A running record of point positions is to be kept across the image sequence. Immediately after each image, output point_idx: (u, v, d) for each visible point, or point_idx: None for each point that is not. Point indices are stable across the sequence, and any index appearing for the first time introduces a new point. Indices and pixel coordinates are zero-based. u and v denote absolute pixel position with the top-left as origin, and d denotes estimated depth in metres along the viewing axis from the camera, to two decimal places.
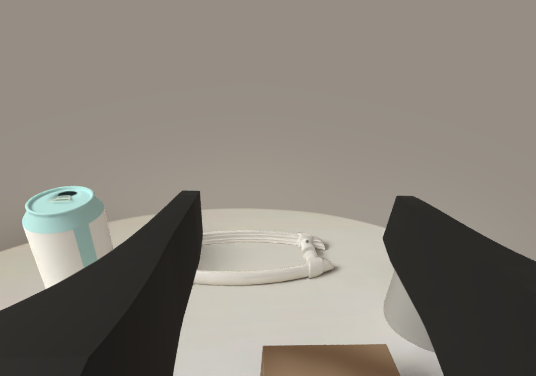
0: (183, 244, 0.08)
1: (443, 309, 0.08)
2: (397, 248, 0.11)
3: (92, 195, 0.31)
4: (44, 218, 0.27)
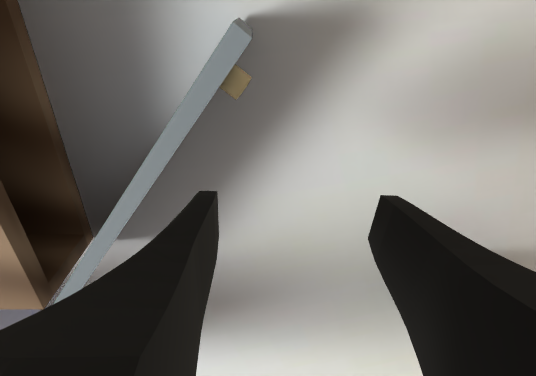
0: (204, 244, 0.08)
1: (423, 309, 0.08)
2: (381, 248, 0.11)
3: None
4: None
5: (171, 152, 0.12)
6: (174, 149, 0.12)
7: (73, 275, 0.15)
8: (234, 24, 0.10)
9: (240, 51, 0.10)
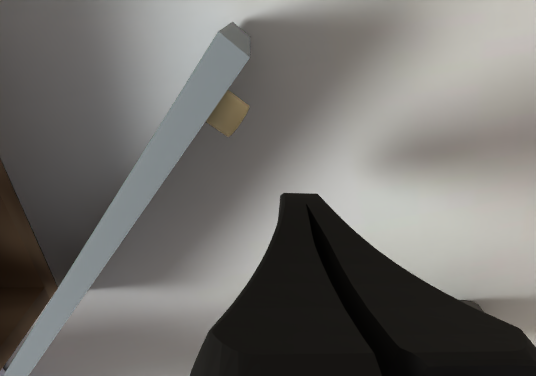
0: None
1: None
2: None
3: None
4: None
5: (133, 219, 0.08)
6: (137, 214, 0.08)
7: (13, 364, 0.12)
8: (221, 35, 0.06)
9: (231, 77, 0.07)
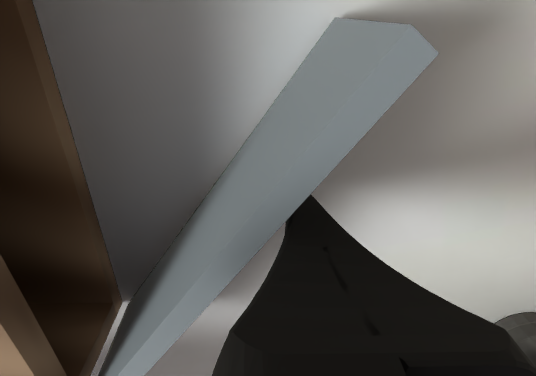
0: None
1: None
2: None
3: None
4: None
5: (266, 237, 0.08)
6: (271, 232, 0.08)
7: None
8: (412, 29, 0.05)
9: (412, 77, 0.06)
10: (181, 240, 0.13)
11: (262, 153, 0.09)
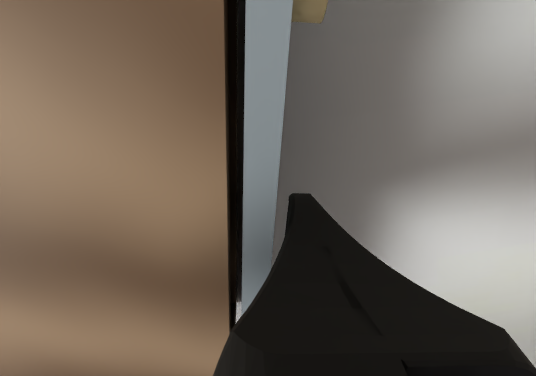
0: None
1: None
2: None
3: None
4: None
5: (274, 166, 0.07)
6: (276, 158, 0.07)
7: None
8: None
9: None
10: None
11: None
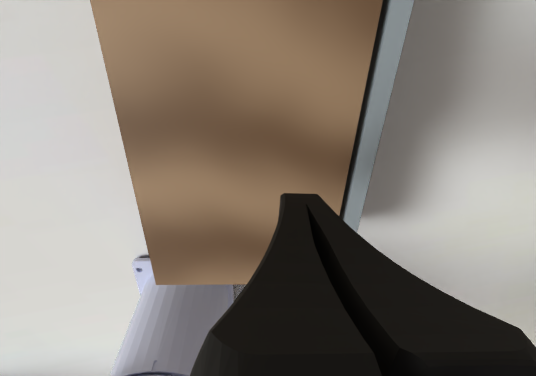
0: None
1: None
2: None
3: None
4: None
5: (394, 70, 0.12)
6: (396, 65, 0.12)
7: None
8: None
9: None
10: None
11: None
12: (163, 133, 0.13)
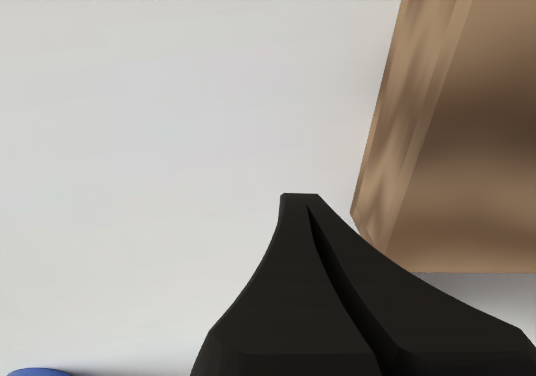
0: None
1: None
2: None
3: None
4: None
5: None
6: None
7: None
8: None
9: None
10: None
11: None
12: (470, 120, 0.13)
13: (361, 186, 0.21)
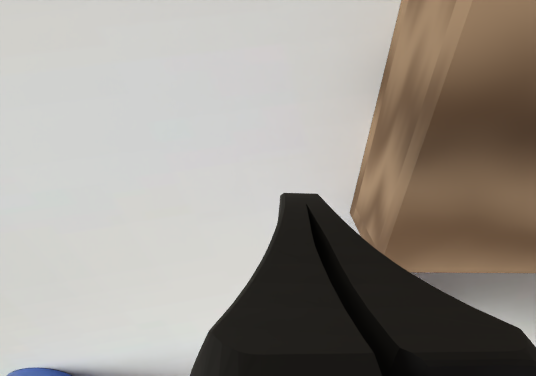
0: None
1: None
2: None
3: None
4: None
5: None
6: None
7: None
8: None
9: None
10: None
11: None
12: (470, 120, 0.13)
13: (361, 186, 0.21)
